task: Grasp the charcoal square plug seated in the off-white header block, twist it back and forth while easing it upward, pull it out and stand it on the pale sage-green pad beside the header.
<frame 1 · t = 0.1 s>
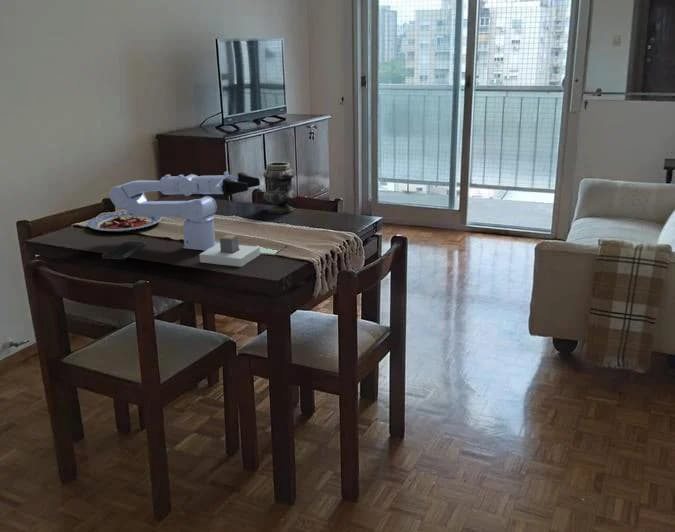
hand: (253, 184, 211), 22 cm above the table, tool horizontal, fingers open, 7 cm apart
plug: (229, 247, 211), in the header
ceramic plate: (125, 226, 251), on the table
pad: (267, 249, 220), on the table
phone: (124, 252, 221), on the table
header: (230, 258, 212), on the table
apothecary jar: (280, 210, 267), on the table
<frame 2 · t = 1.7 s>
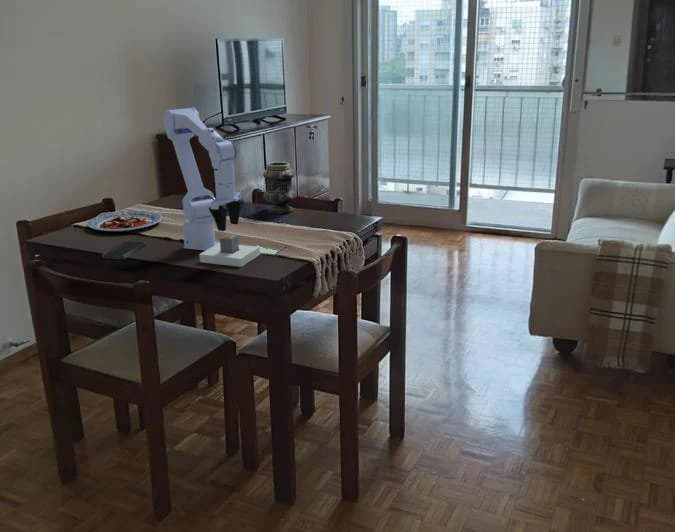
hand: (228, 227, 209), 10 cm above the table, tool pointing down, fingers open, 7 cm apart
nothing on the table moved.
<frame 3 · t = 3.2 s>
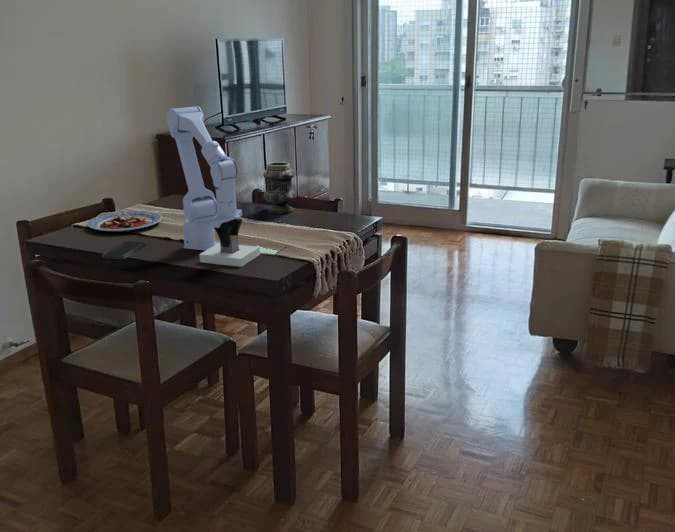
hand: (229, 244, 211), 4 cm above the table, tool pointing down, fingers closed on plug, 4 cm apart
plug: (229, 247, 211), in the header, touching gripper
everything else where it was.
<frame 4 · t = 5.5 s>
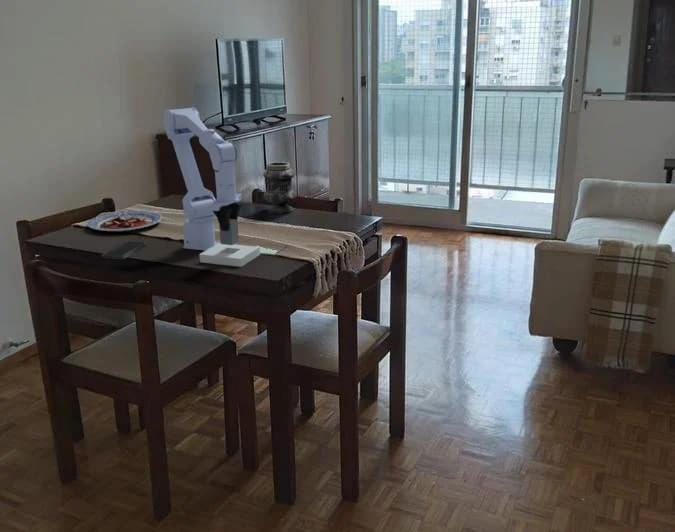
hand: (228, 228, 209), 9 cm above the table, tool pointing down, fingers closed on plug, 4 cm apart
plug: (229, 231, 210), point 8 cm above the table, touching gripper
everything else where it was.
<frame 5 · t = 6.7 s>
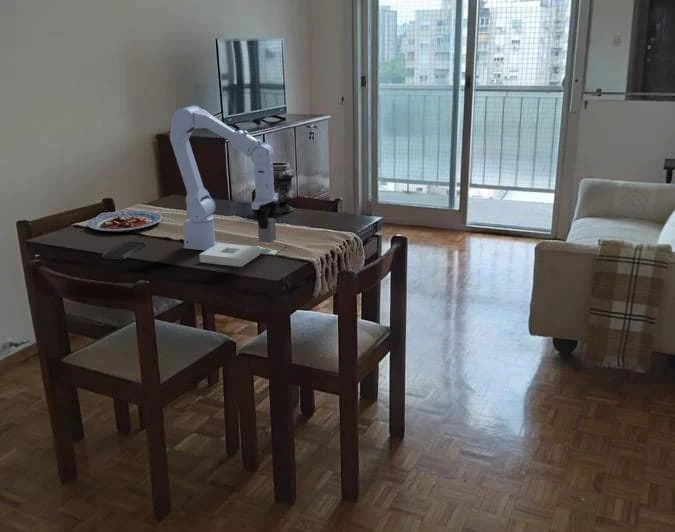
hand: (266, 226, 218), 8 cm above the table, tool pointing down, fingers closed on plug, 4 cm apart
plug: (267, 229, 218), point 7 cm above the table, touching gripper
everything else where it was.
when the fingers open (6 cm above the table, at t = 7.8 s): plug drops 1 cm, resting on pad.
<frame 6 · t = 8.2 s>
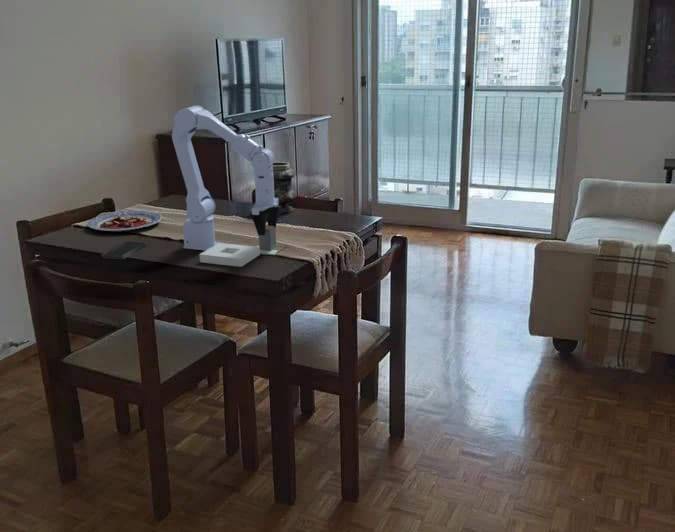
hand: (266, 231, 218), 6 cm above the table, tool pointing down, fingers open, 7 cm apart
plug: (267, 237, 219), on the pad
everything else where it was.
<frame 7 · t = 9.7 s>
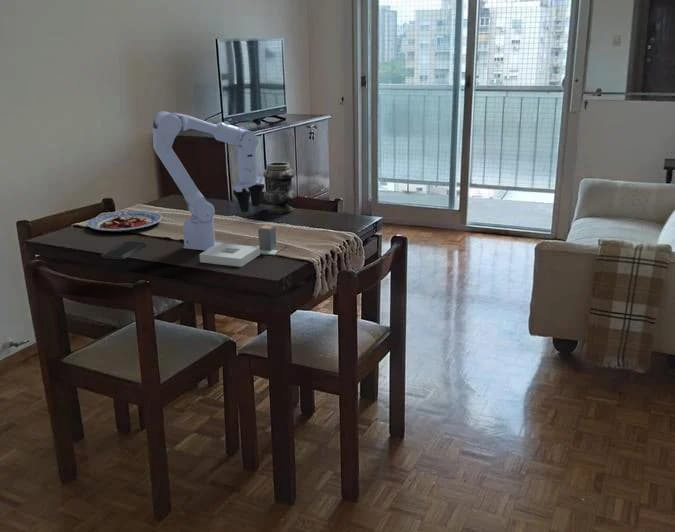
hand: (250, 208, 228), 10 cm above the table, tool pointing down, fingers open, 7 cm apart
nothing on the table moved.
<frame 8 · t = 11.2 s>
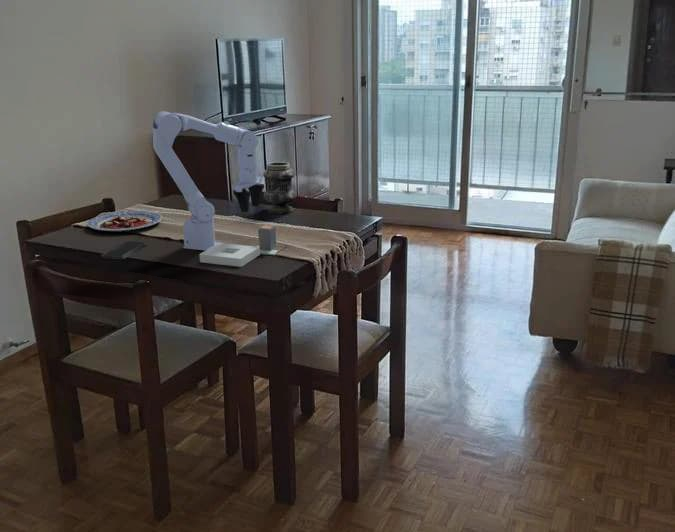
hand: (250, 208, 228), 10 cm above the table, tool pointing down, fingers open, 7 cm apart
nothing on the table moved.
at the end: plug 0.0 cm off-centre on the pad, point 3.9 cm above the pad's base; plug tilted 0°; the gripper is holding nothing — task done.
